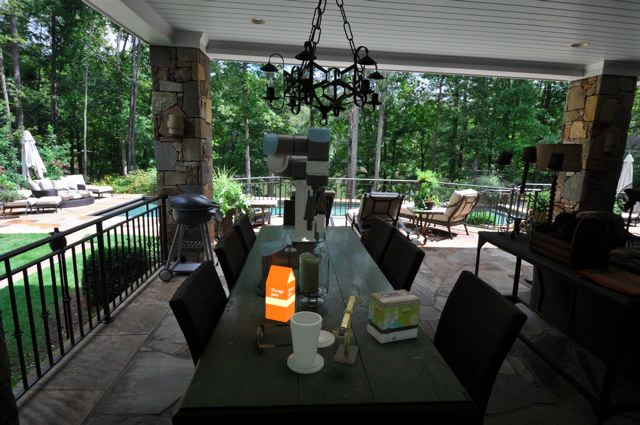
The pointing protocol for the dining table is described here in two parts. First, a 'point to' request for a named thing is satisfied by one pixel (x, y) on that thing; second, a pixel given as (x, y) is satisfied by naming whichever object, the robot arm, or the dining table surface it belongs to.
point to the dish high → (325, 339)
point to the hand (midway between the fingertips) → (315, 235)
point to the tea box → (393, 315)
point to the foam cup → (305, 336)
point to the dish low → (307, 368)
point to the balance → (346, 333)
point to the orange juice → (280, 293)
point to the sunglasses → (261, 333)
